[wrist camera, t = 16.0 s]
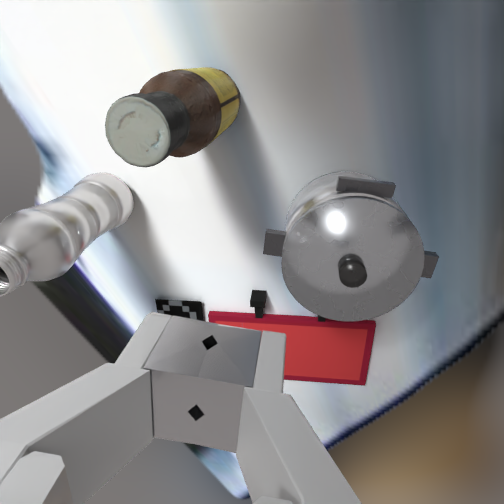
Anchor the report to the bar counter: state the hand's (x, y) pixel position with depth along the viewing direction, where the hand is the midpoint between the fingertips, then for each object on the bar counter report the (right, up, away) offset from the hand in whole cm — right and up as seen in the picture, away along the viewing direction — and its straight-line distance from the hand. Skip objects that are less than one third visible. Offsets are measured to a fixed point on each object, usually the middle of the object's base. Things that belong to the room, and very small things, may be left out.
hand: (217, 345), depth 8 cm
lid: (+10, +1, +26) cm, 28 cm away
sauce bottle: (-3, +18, +30) cm, 35 cm away
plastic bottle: (-16, +9, +36) cm, 41 cm away
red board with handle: (+2, -9, +44) cm, 45 cm away
